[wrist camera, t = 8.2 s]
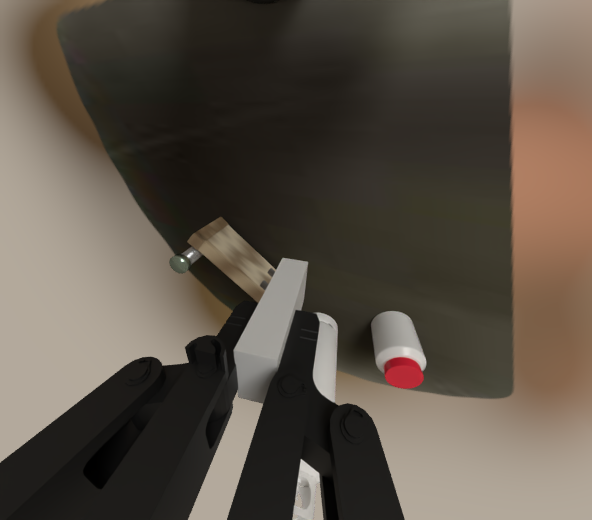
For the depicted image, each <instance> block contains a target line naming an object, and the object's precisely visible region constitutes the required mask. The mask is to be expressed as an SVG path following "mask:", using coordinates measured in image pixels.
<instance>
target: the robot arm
mask: <svg viewBox="0 0 592 520" xmlns="http://www.w3.org/2000/svg"><path fill="white" fill-rule="evenodd" d="M247 1H250V2H254V3H272V2H275V1H278V0H247ZM307 266H308V262H305V261H299V260H293V259H286V258H282V260H281V262H280V264H279V266H278V268H277V270H276V271H275V273H274V275H273V277H272V279H271V281H270V283H269V285H268V286H267V288H266V290H265V292H264V294H263V296H262V298H261V300H260V301H259V303H254V302H249V301H243V302H242V303H241V304H239V305H238V306H236V307H235V309H234V310H233V312H232V313H231V316H230V317H229V318H228V320H227V321H226V324H224V326H223V327H222V329H221V330H220V332H219V333H218V335H217V336H209V335H206V336H203V337H198V338H197V339H195V340H193V341H191V342H190V343H189V344H188V345H187V346H186V347H185V349H186V353H187V357H188V360H189V363H185V364H177V365H167V366H162V363H161V362H160V361H159V360H158V359H157V358H154V357H142V358H140V359H137V360H134V361H132V362H131V363H129V364H127V365H126V366H124V367H123V368H122V369H120V370H119V371H118V372H117V373H115V374H114V375H113V376H111V377H110V378H109V379H108V380H106V381H105V382H104V383H102V384H101V385H100V386H99V387H97V388H96V389H95V390H93V391H92V392H91V393H90V394H88V395H87V396H86V397H84V398H83V399H82V400H80V401H79V402H78V403H77V404H75V405H74V406H73V407H71V408H70V409H69V410H68V411H67V412H65V413H64V414H63V415H61V416H60V417H59V418H57V419H56V420H55V421H53V422H52V423H51V424H49V425H48V426H47V427H46V428H44V429H43V430H42V431H40V432H39V433H38V434H37V435H35V436H34V437H33V438H31V439H30V440H29V441H28V442H26V443H25V444H24V445H23V446H21V447H20V448H19V449H17V450H16V451H15V452H14V453H12V454H11V455H9V456H8V457H7V458H6V459H4V460H3V461H2V462H1V463H0V520H188V518H189V515H190V513H191V511H192V508H193V506H194V503H195V501H196V498H197V496H198V493H199V491H200V489H201V486H202V484H203V482H204V479H205V477H206V474H207V472H208V469H209V467H210V465H211V462H212V460H213V457H214V455H215V453H216V450H217V448H218V445H219V443H220V440H221V438H222V435H223V433H224V431H225V428H226V426H227V424H228V421H229V418H230V416H231V414H232V409H233V404H232V402H233V399H234V397H235V395H236V392H237V390H238V397H239V398H243V399H247V400H251V401H255V402H259V403H263V407H262V410H261V413H260V416H259V419H258V423H257V426H256V429H255V432H254V435H253V438H252V442H251V445H250V448H249V451H248V455H247V458H246V461H245V464H244V467H243V470H242V473H241V477H240V480H239V483H238V486H237V489H236V493H235V496H234V499H233V502H232V505H231V508H230V512H229V515H228V518H227V520H292V517H293V510H294V503H295V496H296V489H297V483H298V476H299V469H300V462H301V459H302V460H303V461H304V462H306V463H307V464H308V465H309V466H311V467H312V468H313V469H314V470H316V471H317V472H318V473H319V477H320V488H321V498H322V507H323V518H324V520H404V516H403V513H402V509H401V506H400V503H399V500H398V497H397V494H396V490H395V487H394V484H393V481H392V477H391V474H390V471H389V468H388V464H387V461H386V458H385V454H384V451H383V448H382V445H381V442H380V438H379V435H378V432H377V429H376V426H375V424H374V422H373V420H372V418H371V417H370V416H369V415H368V414H367V413H366V411H365V410H363V409H362V408H360V407H358V406H357V405H353V404H348V403H347V404H343V405H340V406H338V405H337V404H335V403H334V402H332V401H330V400H329V399H327V398H326V397H325V396H323V395H322V394H321V393H320V392H319V390H318V389H317V387H316V385H315V383H314V380H313V368H314V361H315V354H316V347H317V340H318V333H319V326H320V321H319V319H318V316H317V314H316V313H310V312H305V311H301V308H302V304H303V301H304V293H305V284H306V275H307Z"/></svg>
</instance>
